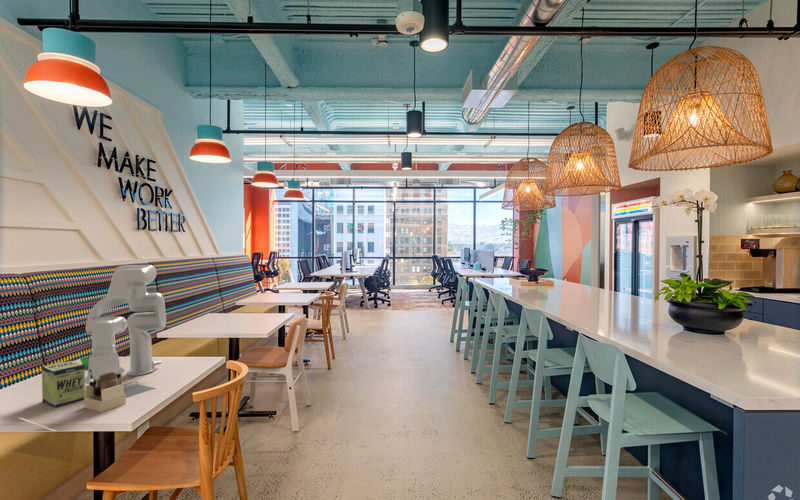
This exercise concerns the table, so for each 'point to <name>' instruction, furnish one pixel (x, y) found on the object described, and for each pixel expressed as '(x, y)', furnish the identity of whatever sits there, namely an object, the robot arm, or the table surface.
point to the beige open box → (105, 398)
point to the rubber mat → (135, 389)
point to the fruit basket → (86, 359)
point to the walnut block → (106, 383)
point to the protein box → (63, 383)
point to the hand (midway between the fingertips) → (105, 393)
